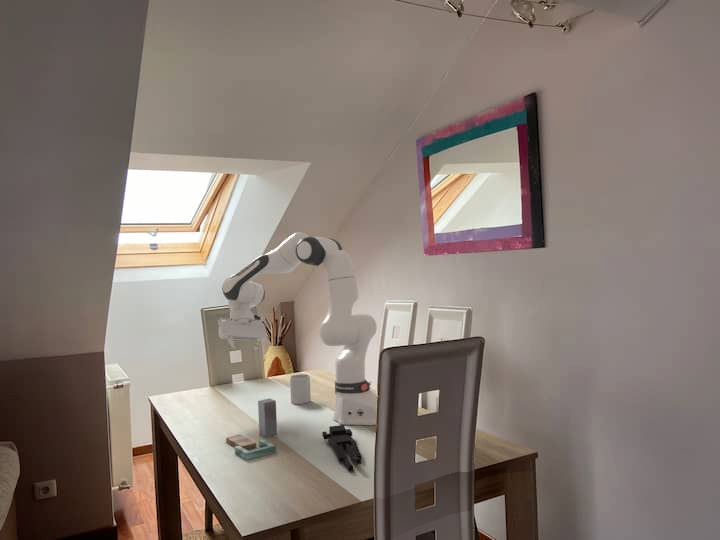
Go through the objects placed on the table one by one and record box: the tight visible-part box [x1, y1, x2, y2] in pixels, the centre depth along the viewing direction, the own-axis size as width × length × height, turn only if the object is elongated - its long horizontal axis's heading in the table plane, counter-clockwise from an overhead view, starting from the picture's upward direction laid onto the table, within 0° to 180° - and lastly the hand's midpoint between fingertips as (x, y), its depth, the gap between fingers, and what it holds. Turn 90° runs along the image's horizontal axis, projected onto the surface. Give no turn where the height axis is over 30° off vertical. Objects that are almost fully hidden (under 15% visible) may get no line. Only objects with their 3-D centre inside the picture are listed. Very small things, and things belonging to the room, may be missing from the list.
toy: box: [321, 424, 362, 472], centre depth 168 cm, size 10×5×30 cm
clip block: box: [257, 397, 278, 439], centre depth 190 cm, size 4×4×12 cm
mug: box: [289, 373, 312, 405], centre depth 235 cm, size 12×8×11 cm
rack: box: [225, 433, 277, 461], centre depth 177 cm, size 20×10×2 cm, turn 38°
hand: (245, 348), depth 223 cm, fingers open, 8 cm apart
